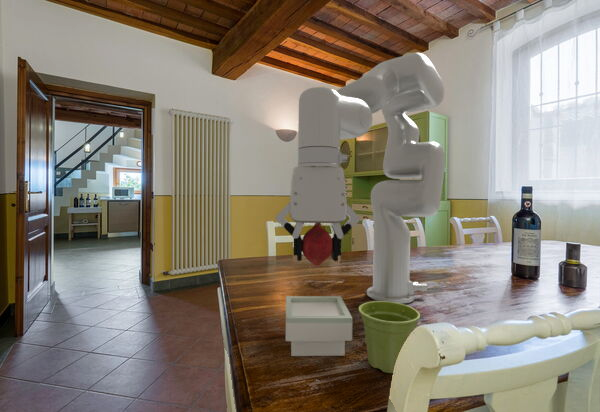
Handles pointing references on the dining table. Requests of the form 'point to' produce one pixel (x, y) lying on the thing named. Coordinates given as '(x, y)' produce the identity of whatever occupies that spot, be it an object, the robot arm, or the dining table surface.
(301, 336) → the pedestal
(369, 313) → the plant pot
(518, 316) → the dining table surface
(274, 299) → the dining table surface
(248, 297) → the dining table surface
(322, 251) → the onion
